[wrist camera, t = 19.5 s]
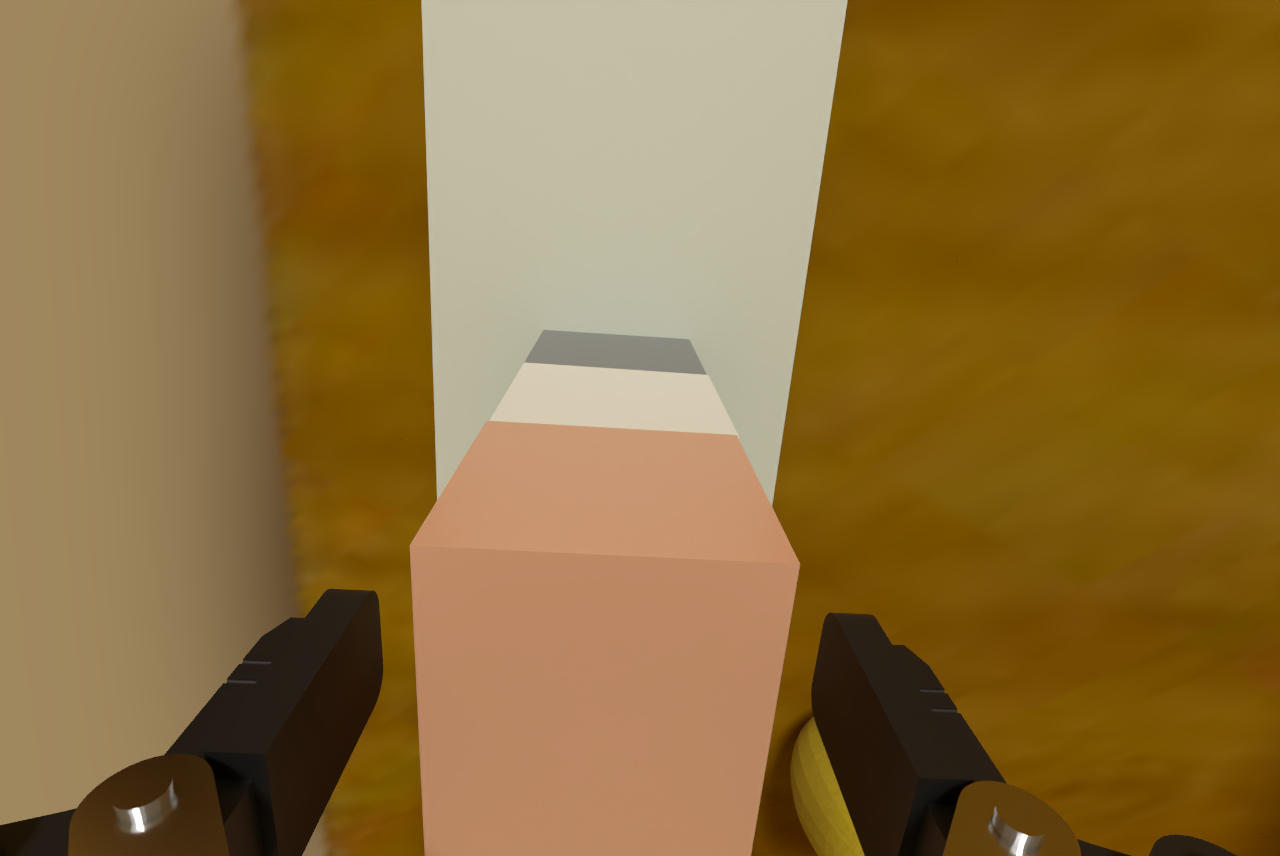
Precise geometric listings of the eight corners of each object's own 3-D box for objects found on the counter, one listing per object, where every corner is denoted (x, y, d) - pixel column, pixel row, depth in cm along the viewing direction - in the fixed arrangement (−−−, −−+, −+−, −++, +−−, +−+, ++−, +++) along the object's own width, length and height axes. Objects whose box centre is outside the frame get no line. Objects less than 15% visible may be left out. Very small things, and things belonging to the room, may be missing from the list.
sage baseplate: (760, 522, 25) (767, 537, 24) (446, 506, 25) (438, 521, 24) (869, -233, 18) (886, -262, 17) (424, -281, 17) (411, -314, 16)
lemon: (815, 642, 27) (890, 810, 20) (924, 690, 28) (1034, 869, 21) (747, 736, 29) (792, 926, 21) (852, 779, 30) (930, 976, 22)
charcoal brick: (672, 513, 24) (684, 586, 19) (539, 506, 24) (520, 578, 19) (689, 339, 22) (707, 375, 17) (543, 329, 22) (523, 364, 17)
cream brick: (684, 586, 19) (703, 704, 15) (519, 577, 19) (488, 695, 15) (708, 374, 17) (739, 436, 13) (524, 362, 17) (488, 420, 13)
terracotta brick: (703, 702, 15) (739, 924, 10) (487, 694, 15) (428, 917, 10) (736, 434, 13) (800, 564, 8) (485, 420, 13) (409, 545, 8)
